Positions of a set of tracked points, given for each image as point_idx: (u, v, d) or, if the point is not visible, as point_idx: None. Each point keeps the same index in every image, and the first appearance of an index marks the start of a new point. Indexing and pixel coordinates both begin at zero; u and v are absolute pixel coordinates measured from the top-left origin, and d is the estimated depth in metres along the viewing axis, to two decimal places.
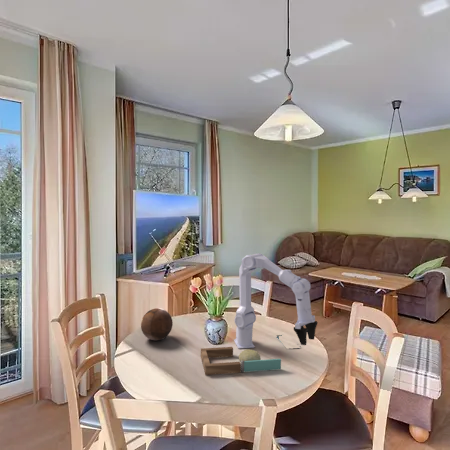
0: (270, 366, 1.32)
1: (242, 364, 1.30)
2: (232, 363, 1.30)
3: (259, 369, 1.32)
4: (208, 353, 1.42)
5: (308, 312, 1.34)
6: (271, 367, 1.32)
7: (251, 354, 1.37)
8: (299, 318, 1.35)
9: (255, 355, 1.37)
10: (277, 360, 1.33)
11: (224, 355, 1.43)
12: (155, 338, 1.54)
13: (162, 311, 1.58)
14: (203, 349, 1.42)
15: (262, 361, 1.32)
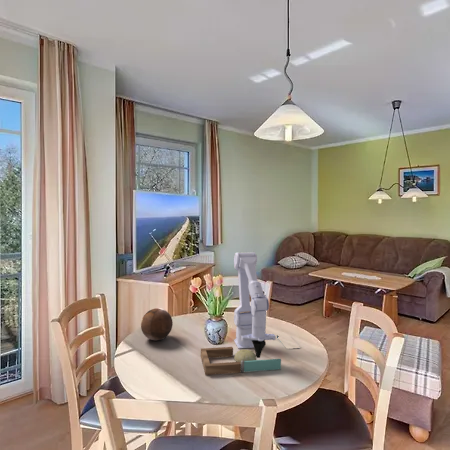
0: (270, 366, 1.32)
1: (242, 364, 1.30)
2: (232, 363, 1.30)
3: (259, 369, 1.32)
4: (208, 353, 1.42)
5: (257, 330, 1.36)
6: (271, 367, 1.32)
7: (247, 354, 1.36)
8: None
9: (251, 355, 1.36)
10: (277, 360, 1.33)
11: (224, 355, 1.43)
12: (155, 338, 1.54)
13: (162, 311, 1.58)
14: (203, 349, 1.42)
15: (262, 361, 1.32)
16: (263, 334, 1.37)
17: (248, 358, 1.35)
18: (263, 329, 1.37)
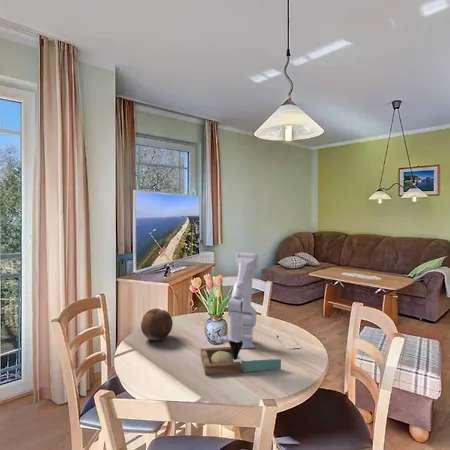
0: (270, 366, 1.32)
1: (242, 364, 1.30)
2: (232, 363, 1.30)
3: (259, 369, 1.32)
4: (208, 353, 1.42)
5: (233, 331, 1.35)
6: (271, 367, 1.32)
7: (223, 356, 1.34)
8: None
9: (227, 357, 1.34)
10: (277, 360, 1.33)
11: None
12: (155, 338, 1.54)
13: (162, 311, 1.58)
14: (203, 349, 1.42)
15: (262, 361, 1.32)
16: (240, 335, 1.35)
17: (224, 360, 1.33)
18: (240, 330, 1.35)
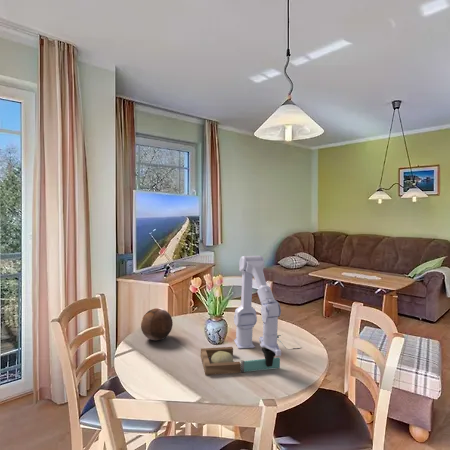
0: None
1: (242, 364, 1.30)
2: (232, 363, 1.30)
3: (259, 368, 1.32)
4: (208, 353, 1.42)
5: None
6: (270, 366, 1.33)
7: (223, 356, 1.35)
8: None
9: (227, 357, 1.34)
10: (276, 359, 1.34)
11: None
12: (155, 338, 1.54)
13: (162, 311, 1.58)
14: (203, 349, 1.42)
15: (262, 360, 1.32)
16: (265, 341, 1.29)
17: (224, 360, 1.33)
18: (265, 336, 1.29)
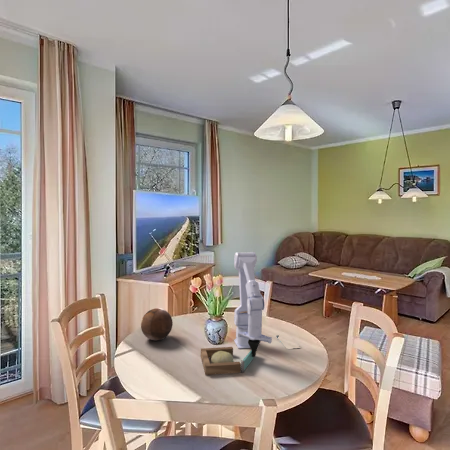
0: None
1: (243, 364, 1.30)
2: (232, 363, 1.30)
3: (249, 362, 1.37)
4: (208, 353, 1.42)
5: (249, 328, 1.38)
6: None
7: (223, 356, 1.35)
8: None
9: (227, 357, 1.35)
10: None
11: None
12: (155, 338, 1.54)
13: (162, 311, 1.58)
14: (203, 349, 1.42)
15: (250, 354, 1.38)
16: (255, 334, 1.37)
17: (224, 360, 1.33)
18: (255, 329, 1.37)
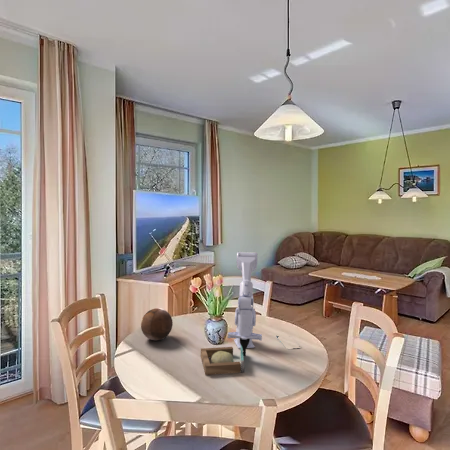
0: None
1: None
2: (232, 363, 1.30)
3: None
4: (208, 353, 1.42)
5: (241, 328, 1.38)
6: None
7: (223, 356, 1.35)
8: None
9: (227, 357, 1.35)
10: None
11: None
12: (155, 338, 1.54)
13: (162, 311, 1.58)
14: (203, 349, 1.42)
15: (242, 353, 1.39)
16: (247, 333, 1.38)
17: (224, 360, 1.33)
18: (247, 328, 1.38)
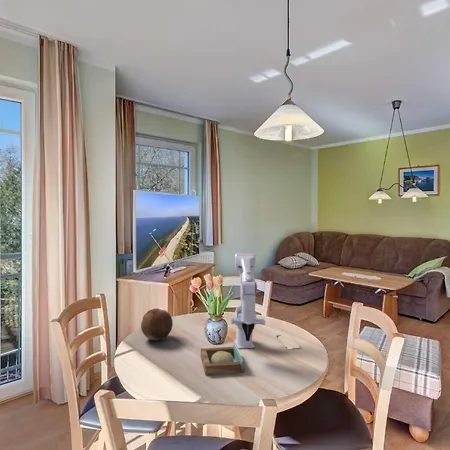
0: None
1: None
2: (232, 363, 1.30)
3: None
4: (208, 353, 1.42)
5: (245, 313, 1.39)
6: None
7: (223, 356, 1.35)
8: None
9: (227, 357, 1.35)
10: None
11: None
12: (155, 338, 1.54)
13: (162, 311, 1.58)
14: (203, 349, 1.42)
15: (238, 353, 1.38)
16: (251, 318, 1.39)
17: (224, 360, 1.33)
18: (251, 313, 1.39)
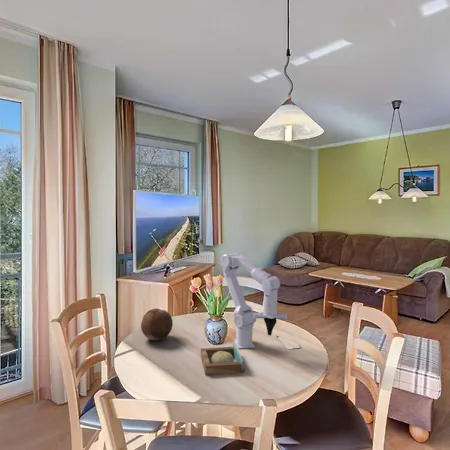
0: None
1: None
2: (232, 363, 1.30)
3: None
4: (208, 353, 1.42)
5: (267, 308, 1.42)
6: None
7: (223, 356, 1.35)
8: None
9: (227, 357, 1.35)
10: None
11: None
12: (155, 338, 1.54)
13: (162, 311, 1.58)
14: (203, 349, 1.42)
15: (238, 353, 1.38)
16: (274, 312, 1.42)
17: (224, 360, 1.33)
18: (274, 307, 1.42)
